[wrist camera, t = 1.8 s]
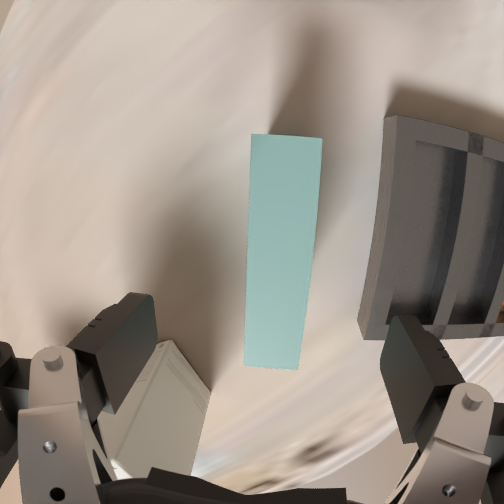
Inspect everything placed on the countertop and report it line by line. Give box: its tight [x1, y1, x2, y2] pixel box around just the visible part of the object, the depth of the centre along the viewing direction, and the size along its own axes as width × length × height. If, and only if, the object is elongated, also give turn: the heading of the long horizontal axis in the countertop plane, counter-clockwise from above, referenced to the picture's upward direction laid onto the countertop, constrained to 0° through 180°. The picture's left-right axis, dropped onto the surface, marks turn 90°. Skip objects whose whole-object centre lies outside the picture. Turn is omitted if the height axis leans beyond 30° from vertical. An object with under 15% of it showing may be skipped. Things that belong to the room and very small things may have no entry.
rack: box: [357, 115, 504, 340], centre depth 21 cm, size 17×20×3 cm
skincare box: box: [98, 340, 211, 480], centre depth 23 cm, size 8×6×15 cm
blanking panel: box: [244, 134, 322, 370], centre depth 19 cm, size 12×3×10 cm, turn 178°
